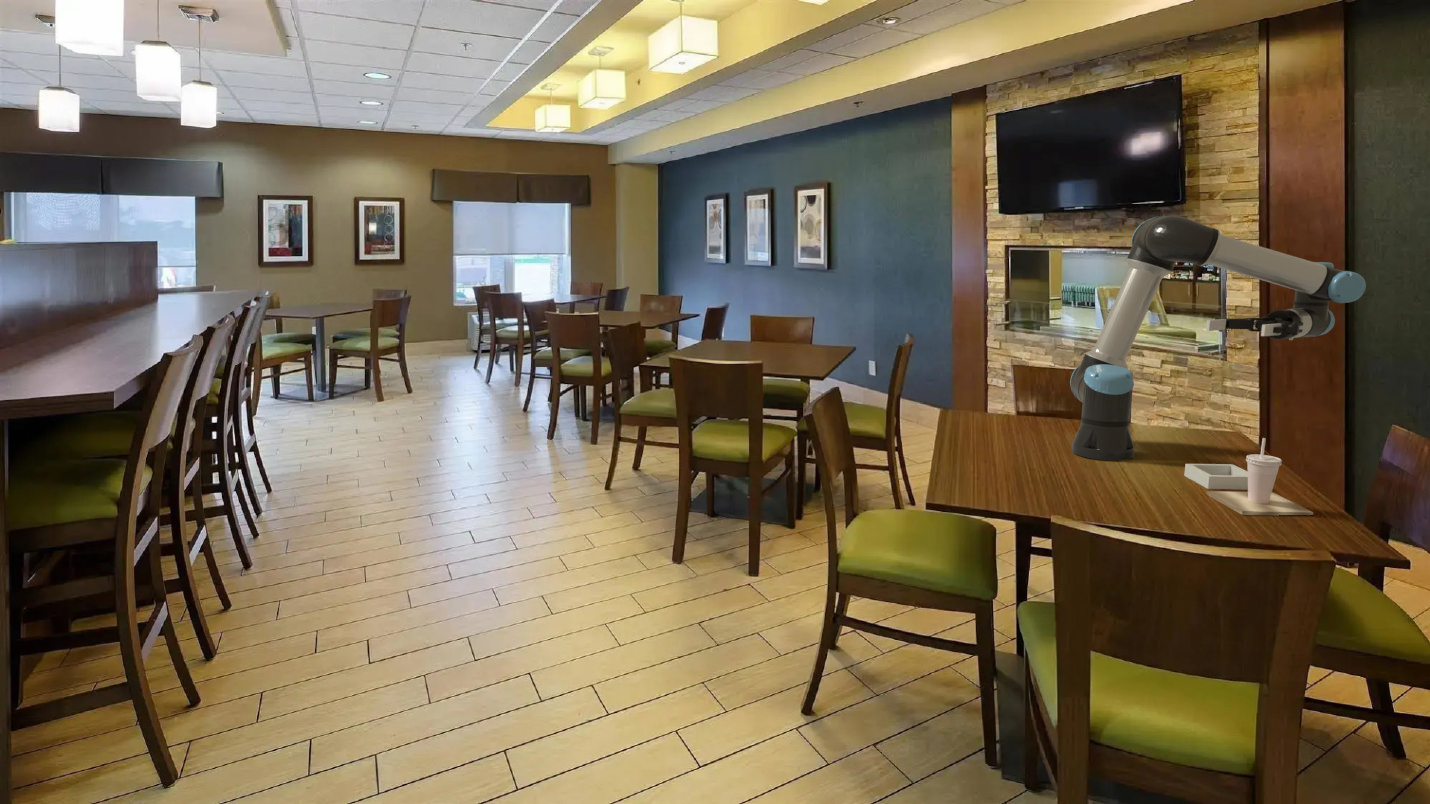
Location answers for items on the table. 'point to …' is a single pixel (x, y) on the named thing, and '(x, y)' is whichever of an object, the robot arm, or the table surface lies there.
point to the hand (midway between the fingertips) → (1234, 328)
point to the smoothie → (1261, 475)
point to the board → (1245, 507)
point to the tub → (1217, 476)
